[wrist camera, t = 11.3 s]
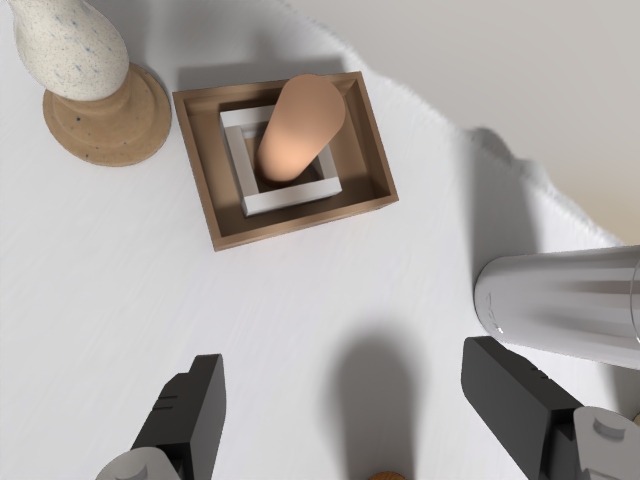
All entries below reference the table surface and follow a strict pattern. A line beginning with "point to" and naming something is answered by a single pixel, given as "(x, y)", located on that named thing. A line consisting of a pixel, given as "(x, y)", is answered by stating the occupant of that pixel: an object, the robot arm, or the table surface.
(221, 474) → the table surface
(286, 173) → the peg
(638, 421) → the plant pot
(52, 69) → the candle holder
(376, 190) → the box
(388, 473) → the disposable coffee cup
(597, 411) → the robot arm
